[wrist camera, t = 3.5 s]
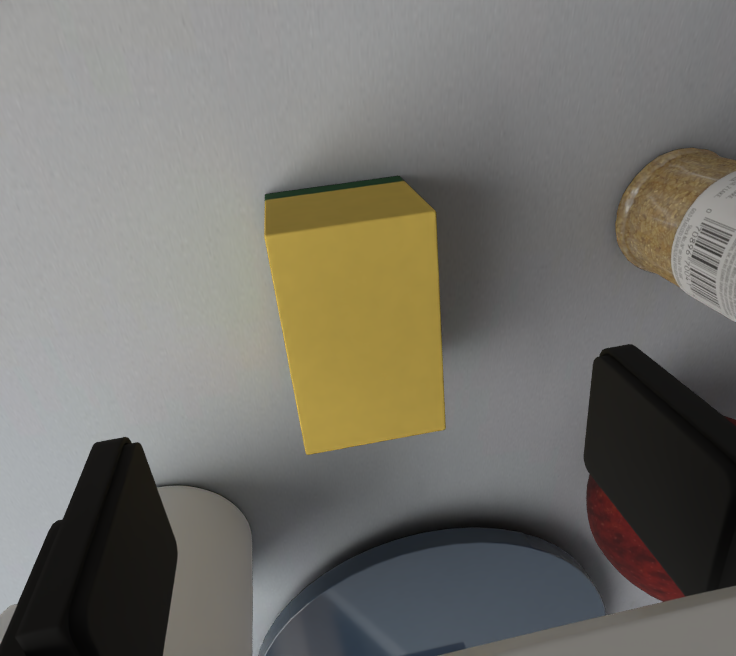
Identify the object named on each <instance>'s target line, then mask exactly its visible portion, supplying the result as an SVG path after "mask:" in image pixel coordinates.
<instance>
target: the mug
mask: <svg viewBox="0 0 736 656" xmlns="http://www.w3.org/2000/svg"><path fill="white" fill-rule="evenodd" d="M157 489H158V492H159V495H160V498H161V500H162V503H163V506H164V509H165V511H166V514H167V517H168V520H169V522H170V525H171V528H172V531H173V534H174V536H175V539H176V543H177V550H178V559H177V566H176V573H175V579H174V586H173V593H172V599H171V606H170V612H169V619H168V625H167V632H166V639H165V645H164V652H163V656H252V621H253V578H252V533H251V529H250V526H249V524H248V521H247V519H246V518H245V516H244V515H243V513H242V512H241V511H240V510H239V509H238V508H237V507H236V506H235V505H234V504H233V503H231V502H230V501H228V500H227V499H225V498H224V497H222V496H220V495H218V494H216V493H213V492H211V491H208V490H205V489H201V488H196V487H190V486H163V487H157ZM16 607H17V604H14V605H11V606H9V607H8V608H7V609H6V610H5V611H4V612H3V613H2V614H1V615H0V644H1V642H2V639H3V637H4V635H5V632H6V630H7V628H8V625H9V623H10V621H11V618H12V616H13V614H14V611H15V609H16Z"/></svg>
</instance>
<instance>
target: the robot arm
mask: <svg viewBox="0 0 736 656" xmlns="http://www.w3.org/2000/svg"><path fill="white" fill-rule="evenodd" d="M584 462H585V466H586V468H587V470H588V472H589V474H590V475H591V476H592V478H593V479H594V480H595V481H596V483H597V484H598V485H599V487H600V488H601V489H602V490H603V492H604V493H605V494H606V495H607V497H608V498H609V499H610V501H611V502H612V503H613V504H614V506H615V507H616V508H617V510H618V511H619V512H620V513H621V515H622V516H623V517H624V519H625V520H626V521H627V522H628V524H629V525H630V526H631V528H632V529H633V530H634V531H635V533H636V534H637V535H638V536H639V538H640V539H641V540H642V542H643V543H644V544H645V545H646V547H647V548H648V549H649V551H650V552H651V553H652V554H653V556H654V557H655V558H656V560H657V561H658V562H659V563H660V565H661V566H662V567H663V569H664V570H665V571H666V572H667V574H668V575H669V576H670V577H671V579H672V580H673V581H674V583H675V584H676V585H677V586H678V588H679V589H680V590H681V592H682V593H683V594H684V595H685V597H682V598H678V599H674V600H669V601H665V602H661V603H657V604H652V605H648V606H644V607H640V608H635V609H631V610H627V611H623V612H618V613H614V614H610V615H605V616H601V617H597V618H593V619H588V620H584V621H580V622H576V623H571V624H567V625H563V626H559V627H555V628H550V629H546V630H542V631H538V632H534V633H530V634H525V635H521V636H517V637H513V638H509V639H505V640H500V641H496V642H492V643H488V644H484V645H480V646H476V647H471V648H467V649H463V650H459V651H455V652H451V653H447V654H442V655H438V656H736V426H735V425H734V424H733V423H732V422H730V421H729V420H728V419H727V418H725V417H724V416H723V415H722V414H720V413H719V412H718V411H717V410H715V409H714V408H713V407H711V406H710V405H709V404H708V403H706V402H705V401H704V400H703V399H701V398H700V397H699V396H698V395H696V394H695V393H694V392H692V391H691V390H690V389H689V388H687V387H686V386H685V385H684V384H682V383H681V382H680V381H679V380H677V379H676V378H675V377H674V376H672V375H671V374H670V373H668V372H667V371H666V370H665V369H663V368H662V367H661V366H660V365H658V364H657V363H656V362H655V361H653V360H652V359H651V358H649V357H648V356H647V355H646V354H644V353H643V352H642V351H641V350H639V349H638V348H637V347H635V346H634V345H631V344H628V345H622V346H617V347H612V348H606V349H604V350H602V352H601V353H600V357H597V358H595V360H594V362H593V370H592V379H591V389H590V399H589V409H588V419H587V428H586V438H585V448H584ZM177 559H178V550H177V543H176V539H175V536H174V534H173V531H172V528H171V525H170V522H169V520H168V517H167V514H166V511H165V509H164V506H163V503H162V500H161V498H160V495H159V492H158V489H157V487H156V484H155V481H154V478H153V475H152V473H151V470H150V467H149V464H148V462H147V459H146V456H145V453H144V451H143V448H142V446H141V444H140V443H138V442H137V443H131V441H130V440H129V438H127V437H123V438H117V439H112V440H106V441H101V442H96V443H95V444H94V445H93V447H92V449H91V451H90V454H89V456H88V459H87V461H86V464H85V466H84V469H83V471H82V473H81V476H80V478H79V481H78V483H77V486H76V488H75V491H74V493H73V496H72V498H71V500H70V503H69V505H68V508H67V510H66V513H65V515H64V518H63V519H62V520H58V521H56V522H55V523H54V524H53V525H52V526H51V528H50V530H49V532H48V534H47V536H46V539H45V541H44V543H43V546H42V548H41V550H40V553H39V555H38V557H37V560H36V562H35V564H34V567H33V569H32V571H31V574H30V576H29V578H28V581H27V583H26V585H25V588H24V590H23V592H22V595H21V597H20V599H19V602H18V604H17V607H16V609H15V611H14V614H13V616H12V618H11V621H10V623H9V625H8V628H7V630H6V632H5V635H4V637H3V639H2V642H1V644H0V656H163V652H164V645H165V639H166V632H167V625H168V619H169V612H170V606H171V599H172V593H173V586H174V579H175V573H176V566H177Z"/></svg>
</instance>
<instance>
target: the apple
mask: <svg viewBox="0 0 736 656" xmlns="http://www.w3.org/2000/svg"><path fill="white" fill-rule="evenodd" d="M724 417H725V418H727V419H728V420H729V421H730V422H732V423H733V424H734V425H735V426H736V420H735V419H732V418H729V417H726V416H724ZM586 499H587V513H588V520H589V524H590V528H591V531H592V534H593V537H594V539H595V541H596V543H597V544H598V546H599V547H600V549H601V550H602V552H603V553H604V555H605V556H606V557H607V559H608V560H609V561H610V562H611V563H612V565H613V566H614V567H615V568H616V569H617V570H618V571H619V572H620V573H621V574H622V575H623V576H624V577H625V578H626V579H628V580H629V581H630V582H631V583H632V584H634V585H635V586H637V587H638V588H640V589H641V590H643V591H644V592H646V593H647V594H649V595H651V596H653V597H655V598H657V599H659V600H661V601H663V602H665V601H669V600H674V599H678V598H682V597H685V595H684V594H683V593H682V592H681V590H680V589H679V588H678V586H677V585H676V584H675V583H674V581H673V580H672V579H671V577H670V576H669V575H668V574H667V572H666V571H665V570H664V569H663V567H662V566H661V565H660V563H659V562H658V561H657V560H656V558H655V557H654V556H653V554H652V553H651V552H650V551H649V549H648V548H647V547H646V545H645V544H644V543H643V542H642V540H641V539H640V538H639V536H638V535H637V534H636V533H635V531H634V530H633V529H632V528H631V526H630V525H629V524H628V522H627V521H626V520H625V519H624V517H623V516H622V515H621V513H620V512H619V511H618V510H617V508H616V507H615V506H614V504H613V503H612V502H611V501H610V499H609V498H608V497H607V495H606V494H605V493H604V492H603V490H602V489H601V488H600V487H599V485H598V484H597V483H596V481H595V480H594V479H593V478H592V476H591V475H589V479H588V484H587V496H586Z"/></svg>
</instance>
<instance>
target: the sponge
mask: <svg viewBox="0 0 736 656" xmlns="http://www.w3.org/2000/svg"><path fill="white" fill-rule="evenodd" d="M264 237H265V243H266V248H267V253H268V258H269V264H270V269H271V274H272V279H273V284H274V290H275V295H276V300H277V305H278V311H279V316H280V321H281V326H282V331H283V337H284V342H285V347H286V352H287V358H288V363H289V368H290V373H291V379H292V384H293V389H294V394H295V399H296V405H297V410H298V415H299V420H300V426H301V431H302V436H303V441H304V446H305V452H306V454H307V455H310V454H316V453H321V452H326V451H332V450H337V449H343V448H348V447H354V446H359V445H364V444H370V443H375V442H381V441H386V440H392V439H397V438H402V437H408V436H413V435H419V434H424V433H430V432H435V431H441V430H445V428H446V425H445V402H444V380H443V357H442V335H441V312H440V290H439V267H438V244H437V222H436V211H435V210H434V209H433V208H432V207H431V206H430V205H429V204H428V203H427V202H426V201H425V200H424V199H423V198H422V197H421V196H419V195H418V194H417V193H416V192H415V191H414V190H413V189H412V188H411V187H410V186H409V185H408V184H407V183H406V182H405V181H404V180H403V179H402V178H401V177H400V176H394V177H386V178H379V179H372V180H364V181H357V182H350V183H343V184H335V185H328V186H321V187H313V188H306V189H299V190H292V191H284V192H277V193H270V194H265V232H264Z"/></svg>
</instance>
